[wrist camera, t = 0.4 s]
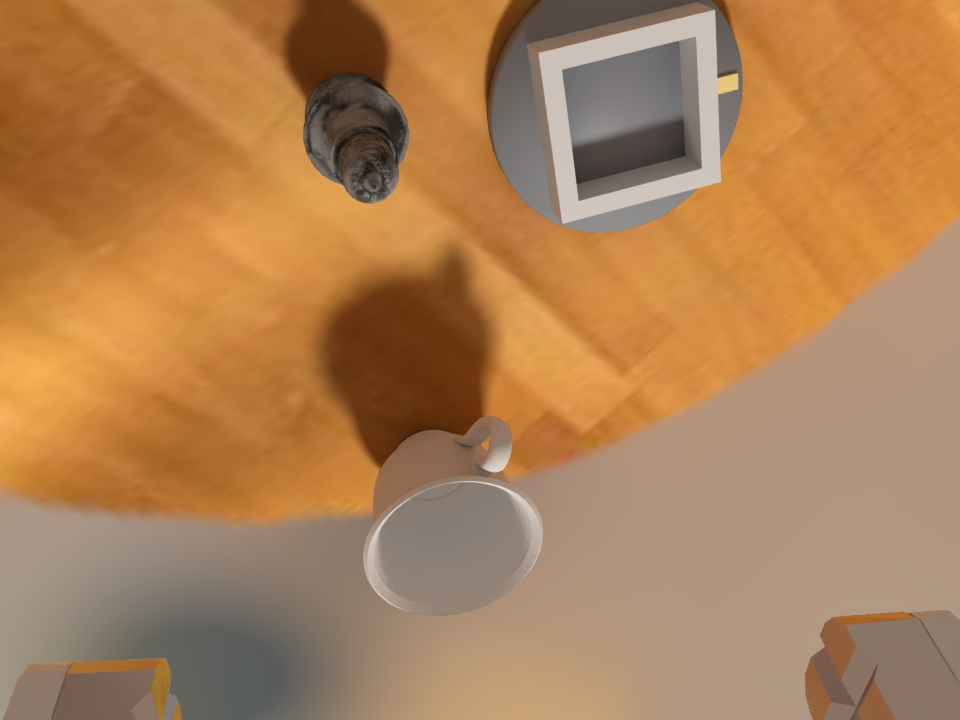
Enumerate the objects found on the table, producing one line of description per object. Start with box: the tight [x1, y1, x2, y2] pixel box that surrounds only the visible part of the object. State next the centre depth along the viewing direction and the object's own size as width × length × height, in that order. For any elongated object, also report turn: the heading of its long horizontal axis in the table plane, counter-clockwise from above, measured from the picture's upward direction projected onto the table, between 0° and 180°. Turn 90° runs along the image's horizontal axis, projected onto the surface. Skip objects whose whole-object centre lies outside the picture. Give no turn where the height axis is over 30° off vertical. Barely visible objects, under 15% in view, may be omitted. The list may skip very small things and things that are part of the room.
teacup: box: [363, 416, 543, 616], centre depth 62 cm, size 12×15×10 cm
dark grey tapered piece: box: [303, 73, 409, 203], centre depth 48 cm, size 6×6×12 cm
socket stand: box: [488, 0, 743, 232], centre depth 54 cm, size 16×16×4 cm
